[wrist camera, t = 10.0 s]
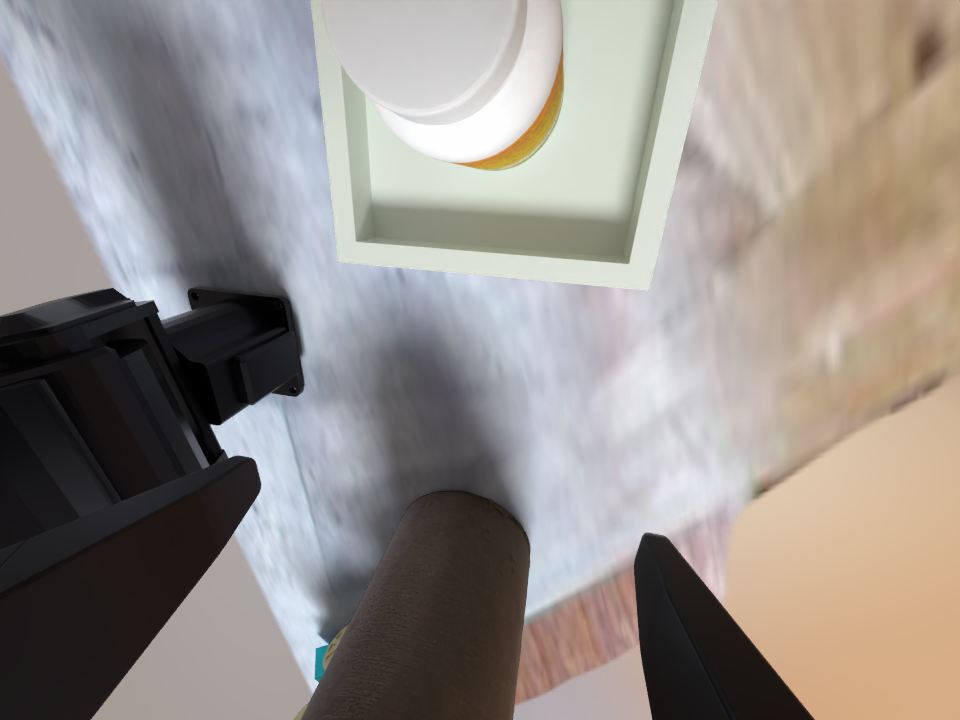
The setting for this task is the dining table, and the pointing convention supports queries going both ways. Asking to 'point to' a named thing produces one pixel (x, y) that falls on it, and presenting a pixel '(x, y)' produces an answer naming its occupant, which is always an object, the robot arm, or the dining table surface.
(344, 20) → the supplement bottle
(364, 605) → the pillar candle
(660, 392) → the dining table surface
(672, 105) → the tray
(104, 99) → the dining table surface
